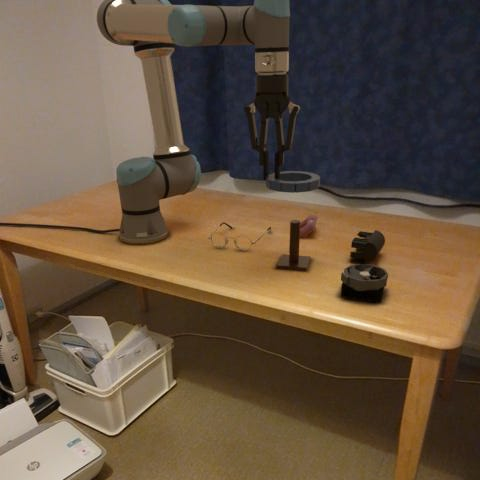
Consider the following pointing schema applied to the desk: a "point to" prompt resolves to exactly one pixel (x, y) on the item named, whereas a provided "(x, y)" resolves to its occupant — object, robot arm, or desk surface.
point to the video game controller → (308, 225)
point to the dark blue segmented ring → (293, 181)
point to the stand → (294, 251)
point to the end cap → (367, 247)
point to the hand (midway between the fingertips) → (271, 178)
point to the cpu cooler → (363, 282)
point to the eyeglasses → (234, 238)
